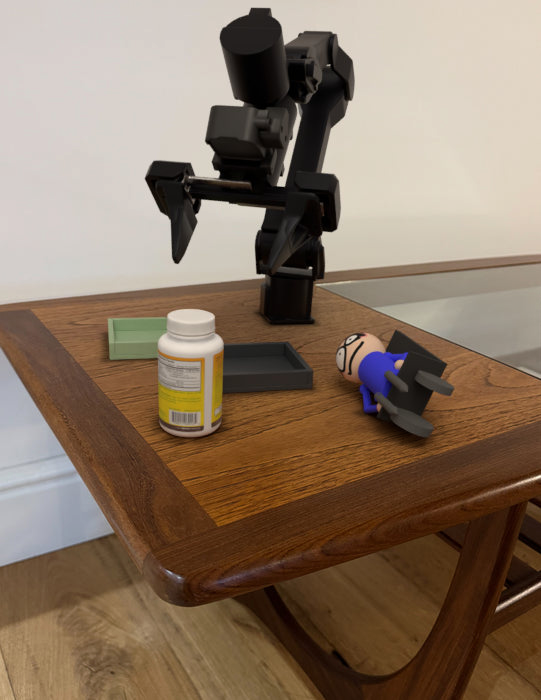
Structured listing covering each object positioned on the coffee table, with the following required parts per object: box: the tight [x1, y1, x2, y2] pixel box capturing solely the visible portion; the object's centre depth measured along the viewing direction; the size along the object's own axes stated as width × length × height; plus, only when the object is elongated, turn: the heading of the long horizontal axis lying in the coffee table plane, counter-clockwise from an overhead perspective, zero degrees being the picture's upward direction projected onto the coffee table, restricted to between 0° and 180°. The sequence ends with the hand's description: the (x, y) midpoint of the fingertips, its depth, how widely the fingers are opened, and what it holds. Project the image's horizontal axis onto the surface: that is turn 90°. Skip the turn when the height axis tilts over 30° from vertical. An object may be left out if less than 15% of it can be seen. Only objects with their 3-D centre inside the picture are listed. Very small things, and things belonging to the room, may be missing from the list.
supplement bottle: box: [157, 308, 225, 438], centre depth 53 cm, size 6×6×10 cm
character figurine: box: [335, 329, 455, 438], centre depth 58 cm, size 8×7×15 cm
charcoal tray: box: [222, 341, 314, 394], centre depth 66 cm, size 11×9×2 cm
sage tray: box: [107, 316, 167, 361], centre depth 74 cm, size 11×9×2 cm
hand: (221, 266), depth 57 cm, fingers open, 9 cm apart
